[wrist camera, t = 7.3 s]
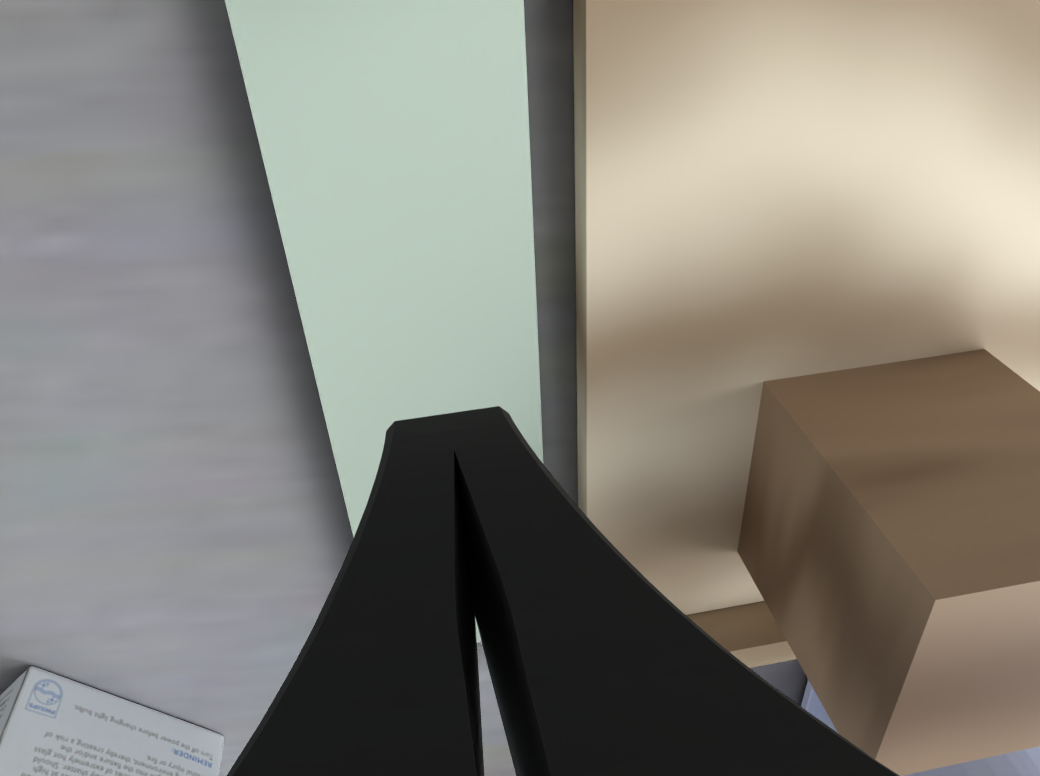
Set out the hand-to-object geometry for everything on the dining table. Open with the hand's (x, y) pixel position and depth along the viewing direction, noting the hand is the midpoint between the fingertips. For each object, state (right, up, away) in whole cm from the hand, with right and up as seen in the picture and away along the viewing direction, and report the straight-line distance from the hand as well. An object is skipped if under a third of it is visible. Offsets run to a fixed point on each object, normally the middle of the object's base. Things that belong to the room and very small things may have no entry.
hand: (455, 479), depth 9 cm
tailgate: (+2, +1, +9) cm, 10 cm away
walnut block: (+10, -1, +12) cm, 16 cm away
